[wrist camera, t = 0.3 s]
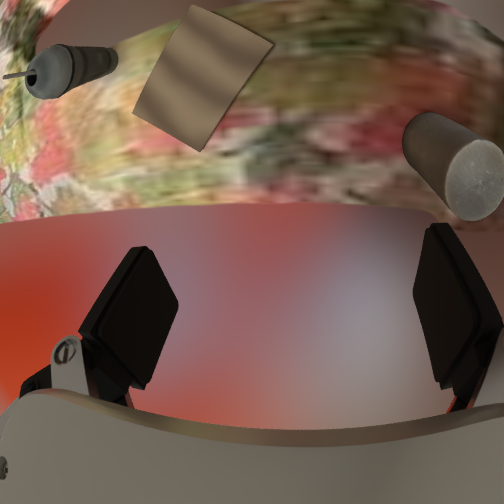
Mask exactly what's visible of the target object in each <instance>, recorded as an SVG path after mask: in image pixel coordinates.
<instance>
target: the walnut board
mask: <svg viewBox="0 0 504 504" xmlns="http://www.w3.org/2000/svg"><path fill="white" fill-rule="evenodd" d="M273 46H274V45H273V44H271V43H270V42H268V41H266V40H265V39H263V38H261V37H259V36H258V35H256V34H254V33H252V32H250V31H248V30H247V29H245V28H243V27H241V26H239V25H237V24H235V23H233V22H231V21H229V20H227V19H225V18H223V17H221V16H219V15H216V14H214V13H212V12H210V11H208V10H205V9H203V8H200V7H198V6H196V5H192V6H191V7H190V8H189V10H188V11H187V13H186V14H185V16H184V17H183V19H182V20H181V22H180V24H179V25H178V27H177V28H176V30H175V31H174V33H173V35H172V36H171V38H170V40H169V41H168V43H167V45H166V47H165V48H164V50H163V52H162V54H161V55H160V57H159V59H158V61H157V63H156V65H155V66H154V68H153V70H152V72H151V74H150V76H149V78H148V80H147V82H146V84H145V86H144V88H143V90H142V92H141V94H140V97H139V99H138V101H137V103H136V105H135V108H134V110H133V112H132V114H134V115H136V116H138V117H140V118H141V119H143V120H145V121H147V122H149V123H150V124H152V125H154V126H156V127H157V128H159V129H161V130H163V131H164V132H166V133H168V134H170V135H171V136H173V137H175V138H176V139H178V140H180V141H182V142H183V143H185V144H187V145H188V146H190V147H192V148H193V149H195V150H197V151H198V152H201V150H202V149H203V148H204V146H205V145H206V143H207V141H208V140H209V138H210V137H211V135H212V133H213V132H214V130H215V129H216V127H217V125H218V124H219V122H220V121H221V119H222V118H223V116H224V115H225V113H226V112H227V110H228V109H229V107H230V106H231V104H232V103H233V101H234V100H235V98H236V97H237V95H238V94H239V92H240V91H241V89H242V88H243V87H244V85H245V84H246V82H247V81H248V80H249V78H250V77H251V75H252V74H253V73H254V71H255V70H256V69H257V67H258V66H259V64H260V63H261V62H262V60H263V59H264V58H265V56H266V55H267V54H268V53H269V51H270V50H271V49H272V47H273Z"/></svg>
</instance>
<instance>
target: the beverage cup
mask: <svg viewBox="0 0 504 504" xmlns="http://www.w3.org/2000/svg"><path fill="white" fill-rule="evenodd" d="M117 63H118V56H117V53H116V52H115V50H113V49H111V48H104V47H73V46H67V45H62V44H57V45H54V46H51V47H49V48H47V49H44V50H42V51H41V52H40V53H39V54H37V55H36V56H35V57H34V58H33V59H32V61H31V62H30V64H29V66H28V68H27V71H26V72H19V73H13V74H8V75H4V76H3V80H4V79H9V78H15V77H21V76H25V84H26V87H27V89H28V91H29V92H30V93H31V94H32V95H33V96H34V97H36V98H40V99H55V98H59V97H61V96H62V95H64V94H65V93H66V92H68V91H70V90H71V89H73V88H75V87H78V86H80V85H82V84H85V83H87V82H90V81H93V80H95V79H98V78H101V77H103V76H105V75H108V74H110V73H112V72H113V71H114V70H115V68H116V66H117Z"/></svg>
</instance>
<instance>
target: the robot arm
mask: <svg viewBox="0 0 504 504" xmlns="http://www.w3.org/2000/svg"><path fill="white" fill-rule="evenodd" d="M413 298H414V302H415V305H416V308H417V311H418V315H419V318H420V322H421V325H422V329H423V332H424V336H425V340H426V344H427V348H428V352H429V356H430V360H431V365H432V369H433V374H434V378H435V381H436V382H439V383H440V388H441V390H443V389H447V388H451V387H453V391H454V395H455V396H454V398H453V400H452V402H451V404H450V406H449V408H448V409H447V411H446V413H445V414H442V415H438V416H433V417H428V418H422V419H417V420H411V421H405V422H399V423H393V424H385V425H376V426H367V427H357V428H344V429H325V430H280V429H259V428H245V427H234V426H224V425H216V424H209V423H202V422H195V421H189V420H184V419H178V418H173V417H168V416H163V415H158V414H154V413H149V412H145V411H141V410H137V409H135V408H134V405H133V402H132V399H131V396H130V393H129V390H128V389H129V386H131V387H132V388H136V389H141V390H144V389H145V387H146V384H147V383H149V382H150V380H151V378H152V375H153V372H154V370H155V367H156V364H157V362H158V359H159V357H160V354H161V351H162V349H163V346H164V344H165V341H166V338H167V336H168V333H169V331H170V328H171V325H172V323H173V321H174V318H175V316H176V313H177V311H178V300H177V298H176V296H175V294H174V293H173V291H172V289H171V287H170V285H169V283H168V281H167V279H166V277H165V275H164V273H163V271H162V269H161V267H160V265H159V263H158V261H157V259H156V257H155V255H154V253H153V251H152V250H150V249H149V248H148V247H147V246H141V247H133V248H131V249H130V250H129V251H128V253H127V254H126V256H125V257H124V259H123V260H122V262H121V263H120V264H119V266H118V267H117V269H116V271H115V272H114V274H113V275H112V276H111V278H110V280H109V281H108V283H107V284H106V286H105V287H104V289H103V290H102V292H101V293H100V295H99V297H98V298H97V300H96V302H95V303H94V305H93V306H92V308H91V310H90V312H89V313H88V315H87V316H86V318H85V320H84V321H83V323H82V325H81V327H80V328H79V330H78V332H79V333H80V334H81V335H82V337H83V338H82V340H80V339H79V338H78V337H77V336H74V335H70V336H67V337H64V338H63V339H62V340H61V341H59V342H58V343H57V344H56V346H55V347H54V349H53V351H52V354H51V364H50V365H48V366H47V367H45V368H43V369H42V370H40V371H39V372H37V373H35V374H34V375H32V376H31V377H29V378H28V379H27V380H25V381H24V382H23V384H22V386H21V390H20V397H17V398H16V399H15V400H14V401H13V403H12V404H11V405H10V406H9V407H8V408H7V409H6V410H5V411H4V413H3V414H2V415H1V416H0V504H504V324H503V322H502V317H501V315H500V313H499V311H498V309H497V307H496V304H495V302H494V300H493V299H492V296H491V294H490V292H489V290H488V288H487V287H486V285H485V283H484V281H483V279H482V277H481V276H480V273H479V272H478V270H477V268H476V267H475V265H474V263H473V261H472V260H471V258H470V256H469V254H468V253H467V251H466V250H465V248H464V246H463V245H462V243H461V242H460V241H459V238H458V237H457V235H456V234H455V233H454V231H453V229H452V228H451V226H450V225H449V224H448V223H432V224H431V225H430V228H427V229H426V230H425V235H424V240H423V246H422V251H421V256H420V261H419V266H418V270H417V274H416V278H415V282H414V286H413Z"/></svg>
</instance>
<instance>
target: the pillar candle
mask: <svg viewBox="0 0 504 504" xmlns="http://www.w3.org/2000/svg"><path fill="white" fill-rule="evenodd" d="M402 148H403V153H404V155H405V158H406V160H407V162H408V163H409V164H410V165H411V166H412V167H413V168H414V169H415V170H416V171H417V172H418V173H419V174H420V175H421V176H422V177H423V179H424V180H425V181H426V182H427V183H428V184H429V185H430V187H431V188H432V189H433V190H434V191H435V192H436V193H437V195H438V196H439V197H440V198H441V199H442V200H443V202H444V203H445V204H446V205H447V206H448V208H449V209H450V210H451V211H452V212H453V213H454V214H455V215H456V216H457V217H459V218H461V219H463V220H469V221H476V220H480V219H482V218H485V217H486V216H488V215H489V214H491V213H492V212H493V211H494V210H495V209H496V208H497V206H498V205H499V203H500V202H501V200H502V198H503V197H504V155H503V153H502V151H501V149H499V148H498V147H497V146H496V145H495V144H494V143H492V142H490V141H488V140H487V139H485V138H483V137H481V136H480V135H478V134H476V133H474V132H473V131H471V130H469V129H467V128H465V127H464V126H462V125H460V124H458V123H456V122H454V121H452V120H450V119H448V118H446V117H444V116H442V115H440V114H437V113H423V114H420V115H418V116H416V117H415V118H413V119H412V120H411V122H410V123H409V124H408V126H407V127H406V129H405V132H404V136H403V141H402Z"/></svg>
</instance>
